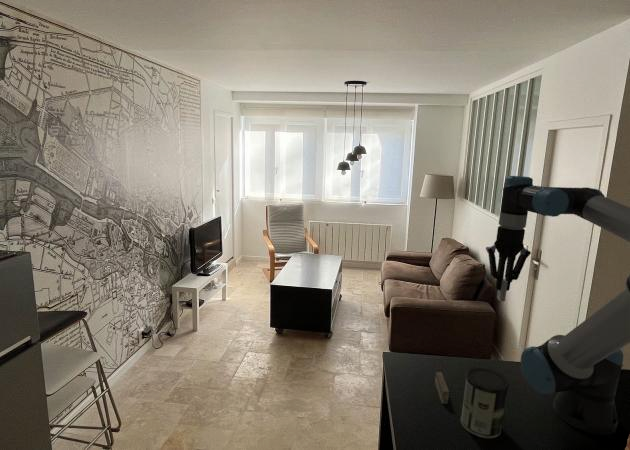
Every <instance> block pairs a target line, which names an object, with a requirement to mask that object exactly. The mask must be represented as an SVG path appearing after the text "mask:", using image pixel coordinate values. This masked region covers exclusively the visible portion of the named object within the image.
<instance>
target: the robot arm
mask: <svg viewBox="0 0 630 450" xmlns="http://www.w3.org/2000/svg"><path fill="white" fill-rule="evenodd" d="M533 180H534V179H533V178H532V177H529V176H521V175H508V176H506V178H505V179H504V184H503V187H502V196H501V204H500V211H499V212H500V213H499V219H498V227H497V231H496V232H497V233H496V239H495V241H494V243H493V245H491V246H486V247H485V250H486V252H487V254H488V261H489V271H490V276H491V277H492V278H493V279H496V280H495V281H496V282H495V289H496V290H497V293H496V294H497V295H496V298H497V300H498V301H499V302H505V301H506V297H507V295H506V293H507V292H508V291H510V288H511V283H513V281H517V280H518V279H519V278H520V274H521V272H522V270H523V267H524V265H525V263H526V261H527V259H528V257H529V256H530V255H531V254H532V252H531V251H530V250H528V249H527V248H525V245H524V240H525V239H524V238H525V232H526V231H525V228H526V227H527V226H526V225H527V219H528V215H529V213H535V214H538V215H540V216H544V217H552V218H553V217H559V216H560V215H574V216H577V217H579V218H581V219H583V220H585V221H587V222H590V223H591V224H593V225H595V226H597V227H599V228H601V229H603V230H606V231H607V232H609V233H611V234H613V235H615V236H617V237H619V238H621V239H623V240H625V241H627V242H629V243H630V206H627V205H625V204H622V203H620V202H618V201H616V200H613V199H611V198H608V197H606V196H605V195H604V193H603V192H602V191H601V190H599V189H597V188H593V187H562V186H561V187H559V186H558V187H557V186H554V187H553V186H540V185H534V183H533V182H534V181H533ZM496 252H497V253H498V263H497V262H496V261H497V259H496V255H495V253H496ZM518 254H519V255H518ZM517 256H518V257H517ZM516 258H517V260H516ZM515 261H516V262H515ZM625 287H626V288H625V289H624V290H623V291H621V292H620V293H618V295H616V296H615V297H614V298H612V299H611V300H610V301H609V302H607V303H606V304H605V305H603V306H602V307H600V309H599V308H598V309H597V311H595V312H593V313H592V315H590V316H589V317H587V318H586V319H585V320H584V321H582V322H581V323H579V325H577V326H575V328H573V329H572V330H570V331H569V332H568V333H567V334H564V335H563V334H556V335H554V336H552V337H550V338H549V339H548V340H546V341H545V342H544V343H542V344H541V345H538V346H534V345H533V346H530V347H526V348H524V349H523V351H522V352H521V355H520V369H521V371H522V374H523V376H524V378H525V380H526V382H527V383H528V384H529V386H530V387H531V388H532V389H533V390H535V391H536V392H538V393H540V394H550V395H551V394H555V393H557V395H556V396H555V397H554V399H553V404H552V408H553V411H554V413H555V414H556V415H557V416H558V417H559V418H560V419H561V420H562V421H563V422H565V423H566V424H568V425H570V426H571V427H573V428H575V429H578V430H580V431H582V432H585V433H589V434H592V435H598V436H608V435H612V434H614V433H615V432H616V431H617V428H618V423H619V422H618V420H619V419H618V414H617V410H616V403H615V397H616V393H617V389H618V385H619V380H620V376H621V373H622V368H623V366H624V364H623V362H624V353H623V351H622V348H624V347H625V346H628V344H630V274H629V275H628V276H627V278H626V280H625Z"/></svg>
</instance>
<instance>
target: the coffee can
mask: <svg viewBox="0 0 630 450" xmlns="http://www.w3.org/2000/svg"><path fill="white" fill-rule="evenodd" d="M465 373H466V374H465V375H466V376H465V387H464V391H463V392H464V394H463V402H462V409H461V416H460V424H461V425H462V427H463V428H464V430H465V431H467V432H469V433H470V434H472V435H474V436H477V437H479V438H483V439H495V438H497V437H500V435H501V433H502V425H503V419H504V411H505V407H506V406H505V405H506V400H507V393H508V389H509V387H510V386H509V385H510V384H509V381H508V379H507V378H506V377H505V376H504V375H502V374H500V372H497V371H495V370H492V369H489V368H485V367H473V368H470V369H468V370H467V371H466V372H465Z"/></svg>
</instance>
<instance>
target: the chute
mask: <svg viewBox="0 0 630 450" xmlns="http://www.w3.org/2000/svg"><path fill="white" fill-rule="evenodd" d="M434 385H435V388H436V391H437V393H438V396H439V399H440V401H441V404H442V405H443V404H444V405H448V404H449V397H450V390H449V388H448V386H447V382H446V380H445V378H444V375H443V373H442V372H440V371H436V372H435V379H434Z"/></svg>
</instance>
